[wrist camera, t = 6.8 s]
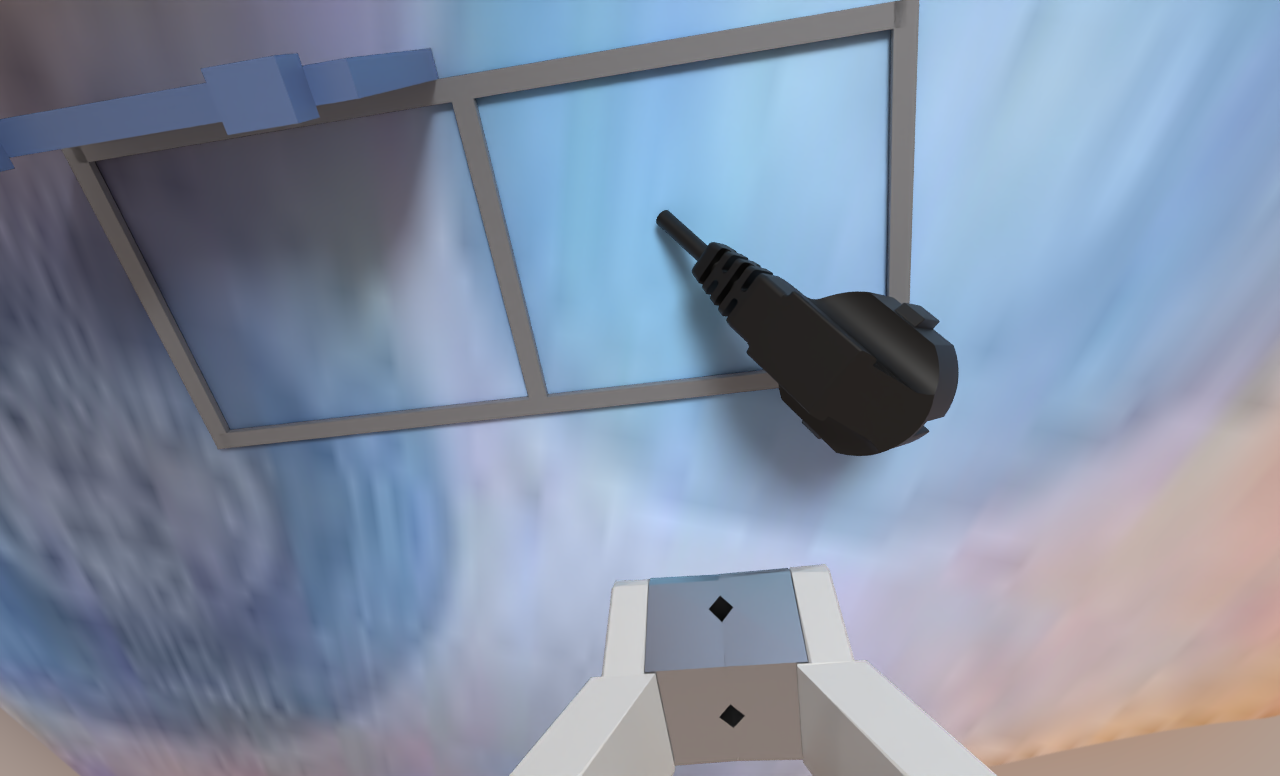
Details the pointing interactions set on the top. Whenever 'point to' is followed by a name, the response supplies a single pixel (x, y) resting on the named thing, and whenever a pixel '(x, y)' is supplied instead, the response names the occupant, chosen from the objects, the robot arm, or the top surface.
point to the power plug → (832, 350)
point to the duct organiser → (409, 80)
